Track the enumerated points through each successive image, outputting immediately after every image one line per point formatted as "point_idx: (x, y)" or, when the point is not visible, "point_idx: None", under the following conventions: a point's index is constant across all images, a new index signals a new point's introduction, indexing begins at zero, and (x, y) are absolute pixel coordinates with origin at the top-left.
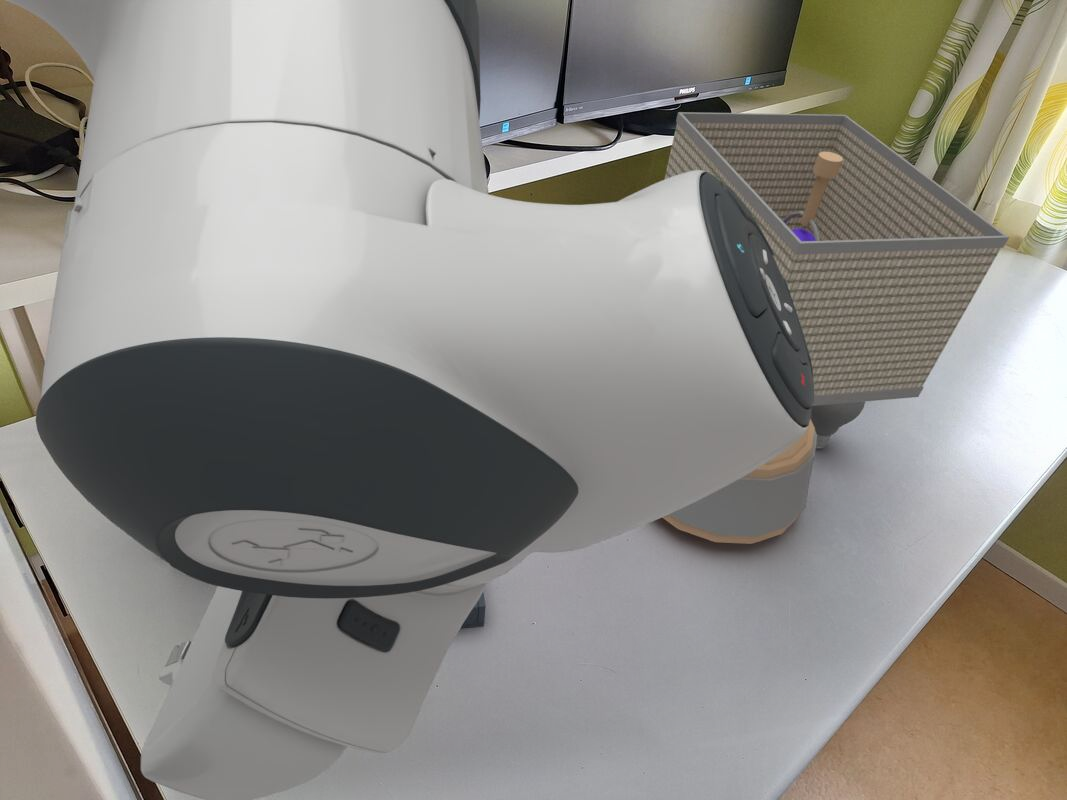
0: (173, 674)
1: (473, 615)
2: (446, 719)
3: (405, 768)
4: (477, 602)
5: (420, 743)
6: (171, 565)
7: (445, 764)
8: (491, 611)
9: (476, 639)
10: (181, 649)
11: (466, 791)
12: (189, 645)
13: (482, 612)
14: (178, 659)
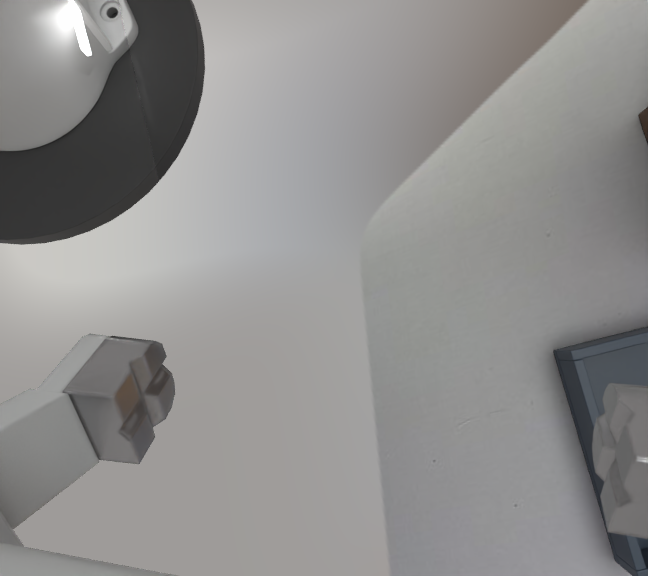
0: (17, 399)
1: (624, 556)
2: (472, 523)
3: (407, 481)
4: (644, 568)
5: (438, 494)
6: (639, 114)
7: (416, 528)
8: None
9: (592, 552)
10: (103, 382)
11: (388, 558)
12: (105, 402)
13: (630, 571)
14: (68, 389)
